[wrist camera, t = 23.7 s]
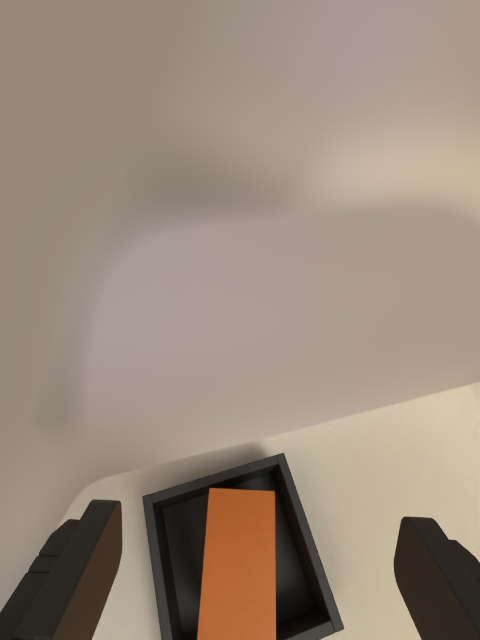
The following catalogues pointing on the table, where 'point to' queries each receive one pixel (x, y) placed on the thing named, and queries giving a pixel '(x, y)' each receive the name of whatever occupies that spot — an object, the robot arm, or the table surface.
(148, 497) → the bin
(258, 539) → the block
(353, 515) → the table surface
